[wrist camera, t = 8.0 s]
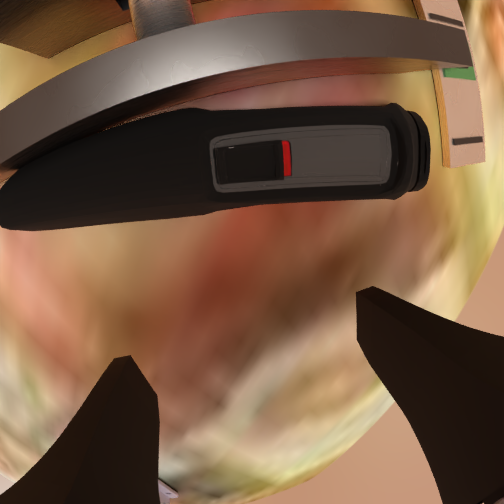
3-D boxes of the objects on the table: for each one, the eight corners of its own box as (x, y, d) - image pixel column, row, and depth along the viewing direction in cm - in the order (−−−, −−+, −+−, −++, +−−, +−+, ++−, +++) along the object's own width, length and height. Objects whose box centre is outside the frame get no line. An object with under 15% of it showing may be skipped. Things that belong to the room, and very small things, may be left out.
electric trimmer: (25, 145, 8) (-23, 157, 6) (404, 106, 10) (456, 109, 7) (43, 233, 10) (5, 268, 7) (403, 190, 12) (450, 212, 9)
